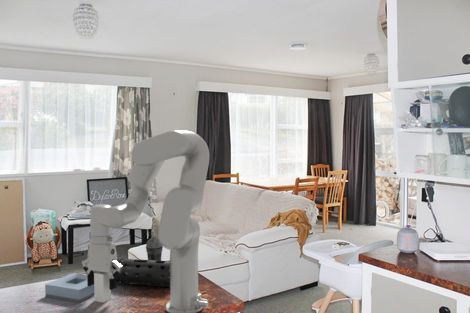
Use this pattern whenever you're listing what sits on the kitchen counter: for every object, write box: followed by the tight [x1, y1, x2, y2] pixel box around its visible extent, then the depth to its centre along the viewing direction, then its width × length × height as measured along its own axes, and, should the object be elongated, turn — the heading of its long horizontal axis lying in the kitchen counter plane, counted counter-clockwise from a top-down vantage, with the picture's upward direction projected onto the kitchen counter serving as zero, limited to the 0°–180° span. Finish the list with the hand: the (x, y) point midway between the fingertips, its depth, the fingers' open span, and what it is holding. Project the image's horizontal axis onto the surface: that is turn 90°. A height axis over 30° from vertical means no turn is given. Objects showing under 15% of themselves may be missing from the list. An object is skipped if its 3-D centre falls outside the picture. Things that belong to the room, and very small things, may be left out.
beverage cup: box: [145, 226, 164, 261], centre depth 177 cm, size 7×7×20 cm
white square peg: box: [94, 272, 112, 304], centre depth 147 cm, size 4×4×11 cm
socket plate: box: [44, 272, 94, 304], centre depth 155 cm, size 16×14×4 cm
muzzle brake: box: [112, 257, 170, 288], centre depth 163 cm, size 10×28×10 cm, turn 78°
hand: (102, 286), depth 147 cm, fingers open, 9 cm apart
